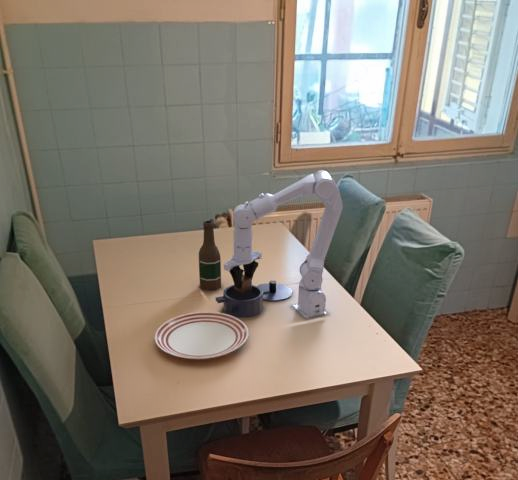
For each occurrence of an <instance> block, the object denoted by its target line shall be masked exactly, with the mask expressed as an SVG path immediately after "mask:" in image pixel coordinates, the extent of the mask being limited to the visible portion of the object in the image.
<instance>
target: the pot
mask: <svg viewBox="0 0 518 480" xmlns="http://www.w3.org/2000/svg"><path fill="white" fill-rule="evenodd" d="M257 286H258V285H254V284H252V289H251V290H249V291H246V292H244V293H242V292H240V291H237V290H235V289H234V284H231V285H229V286H227V287H226V288H225V289H223V292H222V295H221V296H217V297H215V301H216V303H217V304H222V303H223V312H224V314H228V315H231V316H234V317H236V318H238V319H248V318H253V317H256V316H258V315H260V314H261V313H262V312H263V307H264V306H263V303H264V302H263V301H264V300H263V295H266V294H270V291H269V290H268V289H267V288H265V289H260V288H259V287H257Z"/></svg>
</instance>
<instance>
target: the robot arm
mask: <svg viewBox="0 0 518 480" xmlns="http://www.w3.org/2000/svg"><path fill="white" fill-rule="evenodd" d="M314 195H315V197H316V199H318V200H319V201H321V202H322V203H323V205H324V209H323V213H322V216H321V218H320V221H319V224H318V228H317V229H316V233H315V235H314V239H313V242H312V245H311V248H310V250H309V253H308V254H307V255H306V257H305V260H304V261H303V262H302V263H301V264H300V265H299V274H300V276H301V279H300V280H299V282H298V294H297V303H296V304H292V307H294V309H295V310H297V311H298V312H299V313H300V314H301V315H302V316H303V317H304V318H313V317H317V316H321V315H326V314H328V312H326V304H327V303H326V301H327V297H326V294H325V293H324V291H323V289H322V284H323V272H324V267H325V266H324V265H325V259H326V257H327V254H328V251H329V249H330V245H331V244H332V243H331V242H332V240H333V237H334V234H335V232H336V228H337V226H338V223H339V220H340V217H341V214H342V211H343V210H344V209H343V208H344V205H343V201H342V196H341V193H340V188H339V187H338V185H337V184H336V181H335V179H334V178H333V177H332V176H331V174H330V173H329V172H328V171H326V170H318V171H316V172H315V173H310V174H308V175H307V176H305V177H302V179H300V180H298V181H296V182H294V183H293V184H290V185H289V186H287V187H285V188H283V189H282V190H280V191H277V192H276V193H274V194H271V193H267V192H266V193H265V194H264V193H263V192H262V193H260V194H259V195H258V197H256V198H255V199H252V200H250V201H245V202H244V204H243V203H241V204H239V205H237V206H235V208H234V209H233V212H232V217H233V222H234V223H233V255H232V258H230V259H229V260H228V261H226V262H225V263H223V270H224V271H226V272H229V274H230V276H231V278H232V281H233V285H235V287H237V288H241V281H242V275H243V274H244V275H246V276H248V277H251V278H252V279H253V278H254V274H255V273H256V270H257V269H258V267H259V262H258V261H257V260H261V259H262V252H260V251H255V252H253V229H252V225H253V223H254V222H256V221H258V220H260V219H262V218H264V217H266V216H269V215H271V214H273V213H275V212H276V211H277V208H278V206H280V205H282V204H285V203H288V202H289V201H292V200H294V199H297V198H299V197H301V196H305V197H308V198H314ZM240 266H242V267H243V269H242V268H241V267H240Z"/></svg>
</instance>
